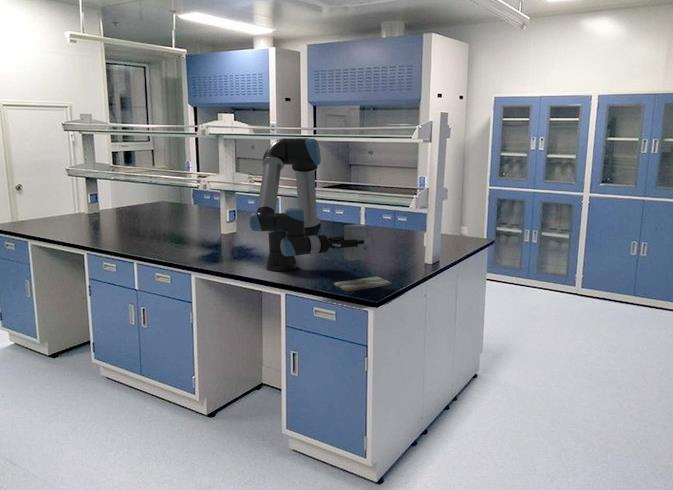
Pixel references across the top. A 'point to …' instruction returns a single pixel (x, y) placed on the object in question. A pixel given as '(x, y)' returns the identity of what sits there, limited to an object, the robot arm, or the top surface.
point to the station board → (362, 283)
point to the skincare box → (352, 234)
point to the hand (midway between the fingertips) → (365, 239)
